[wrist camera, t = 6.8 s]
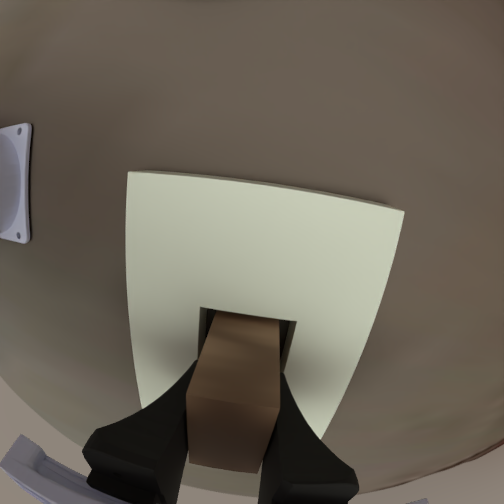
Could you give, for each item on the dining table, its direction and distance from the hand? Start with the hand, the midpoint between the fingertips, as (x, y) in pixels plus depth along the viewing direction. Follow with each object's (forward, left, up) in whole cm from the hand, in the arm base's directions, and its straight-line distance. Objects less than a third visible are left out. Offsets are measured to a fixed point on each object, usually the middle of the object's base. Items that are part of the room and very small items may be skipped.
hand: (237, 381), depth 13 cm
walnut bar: (0, 0, -2) cm, 2 cm away
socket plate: (0, 0, -3) cm, 3 cm away
